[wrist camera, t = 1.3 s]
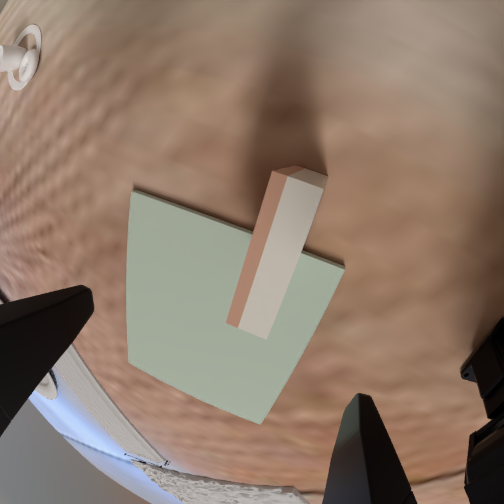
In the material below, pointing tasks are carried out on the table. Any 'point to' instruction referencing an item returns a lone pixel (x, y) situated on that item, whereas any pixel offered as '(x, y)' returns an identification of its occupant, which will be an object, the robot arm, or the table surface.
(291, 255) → the tile
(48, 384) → the plated food
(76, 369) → the baseboard
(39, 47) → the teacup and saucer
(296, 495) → the carpet tile
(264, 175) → the table surface
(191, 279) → the mat
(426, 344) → the table surface
